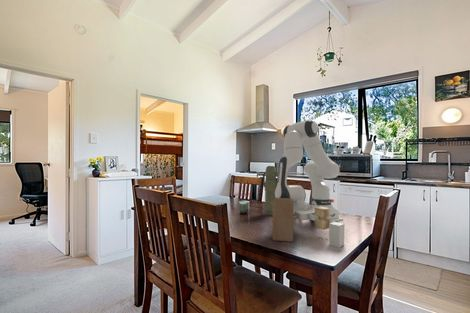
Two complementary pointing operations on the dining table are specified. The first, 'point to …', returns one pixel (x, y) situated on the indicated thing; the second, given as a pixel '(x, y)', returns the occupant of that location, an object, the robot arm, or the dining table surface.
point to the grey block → (336, 234)
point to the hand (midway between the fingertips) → (323, 217)
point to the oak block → (322, 217)
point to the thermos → (269, 189)
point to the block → (283, 219)
